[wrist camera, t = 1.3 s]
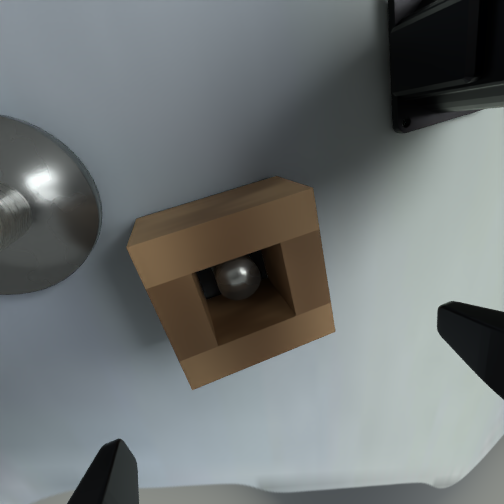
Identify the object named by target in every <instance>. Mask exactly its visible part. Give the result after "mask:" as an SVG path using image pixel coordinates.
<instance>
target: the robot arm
mask: <svg viewBox="0 0 504 504" xmlns="http://www.w3.org/2000/svg"><path fill="white" fill-rule="evenodd" d="M388 14H389V40H390V67H391V94H392V120H393V129H394V130H395V132H397V133H407V132H411V131H414V130H417V129H420V128H424V127H427V126H430V125H434V124H437V123H440V122H444V121H447V120H450V119H453V118H457V117H460V116H463V115H467V114H470V113H473V112H476V111H480V110H483V109H488V108H498V107H504V0H388ZM404 119H405V125H404V126H403V125H402V122H403V120H404ZM437 330H438V332H439V334H440V336H441V337H442V338H443V339H444V340H445V341H446V342H447V343H448V344H449V345H450V346H451V348H452V349H453V350H454V351H455V352H456V353H457V354H458V355H459V356H460V357H461V358H462V359H463V360H464V361H465V362H466V364H467V365H468V366H469V367H470V368H471V369H472V370H473V371H474V372H475V373H476V374H477V375H478V376H479V377H480V378H481V379H482V380H483V381H484V382H485V383H486V384H487V385H488V386H489V387H490V388H491V389H492V390H493V391H494V392H496V393H497V394H498V395H499V396H500V397H501V398H502V399H503V400H504V312H502V311H497V310H493V309H488V308H483V307H479V306H474V305H470V304H465V303H461V302H456V301H450V302H448V303H445V304H443V305H440V306H439V308H438V313H437ZM138 493H139V492H138V469H137V462H136V459H135V457H134V455H133V454H132V453H131V451H130V450H129V448H128V447H127V445H126V444H125V442H124V441H123V440H122V439H116V440H114V441H112V442H109V443H107V444H105V445H103V446H102V447H101V449H100V450H99V452H98V453H97V455H96V457H95V458H94V460H93V462H92V463H91V465H90V467H89V468H88V470H87V472H86V473H85V475H84V477H83V478H82V480H81V481H80V483H79V485H78V486H77V488H76V490H75V491H74V493H73V495H72V496H71V498H70V500H69V501H68V503H67V504H139V494H138Z"/></svg>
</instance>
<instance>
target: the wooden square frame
mask: <svg viewBox="0 0 504 504" xmlns="http://www.w3.org/2000/svg"><path fill="white" fill-rule="evenodd" d="M126 248H127V250H128V252H129V255H130V257H131V259H132V261H133V263H134V265H135V267H136V270H137V272H138V274H139V276H140V278H141V280H142V283H143V285H144V287H145V289H146V291H147V293H148V295H149V298H150V300H151V302H152V304H153V306H154V308H155V311H156V313H157V315H158V317H159V319H160V321H161V324H162V326H163V328H164V330H165V332H166V334H167V336H168V339H169V341H170V343H171V345H172V347H173V349H174V352H175V354H176V356H177V358H178V360H179V362H180V365H181V367H182V369H183V371H184V373H185V375H186V377H187V380H188V382H189V384H190V386H191V388H192V390H194V389H196V388H199V387H201V386H204V385H206V384H209V383H211V382H213V381H216V380H218V379H221V378H223V377H226V376H228V375H231V374H233V373H235V372H238V371H240V370H243V369H245V368H248V367H250V366H253V365H255V364H257V363H260V362H262V361H265V360H267V359H270V358H272V357H275V356H277V355H279V354H282V353H284V352H287V351H289V350H292V349H294V348H297V347H299V346H302V345H304V344H306V343H309V342H311V341H314V340H316V339H319V338H321V337H324V336H326V335H328V334H331V333H333V332H335V326H334V320H333V313H332V307H331V300H330V294H329V288H328V281H327V275H326V268H325V262H324V255H323V249H322V243H321V236H320V230H319V223H318V217H317V210H316V204H315V197H314V191H313V188H312V187H309V186H306V185H303V184H300V183H297V182H294V181H290V180H287V179H284V178H281V177H278V176H274V177H271V178H268V179H265V180H261V181H258V182H255V183H252V184H248V185H245V186H242V187H238V188H235V189H232V190H229V191H225V192H222V193H219V194H216V195H212V196H209V197H206V198H202V199H199V200H196V201H193V202H189V203H186V204H183V205H180V206H176V207H173V208H170V209H167V210H163V211H160V212H157V213H153V214H150V215H147V216H144V217H140V218H137V219H136V221H135V224H134V227H133V230H132V233H131V236H130V238H129V241H128V244H127V247H126ZM258 250H261V253H262V257H263V261H264V265H265V269H266V273H267V278H265V279H262V280H261V281H260V285H259V287H258V289H257V290H256V291H255V293H254V294H252V295H251V296H250V297H248V298H246V299H243V300H231V299H228V298H226V297H225V296H224V295H222V294H220V295H218V296H215V297H212V298H209V299H207V300H206V297H205V295H204V292H203V289H202V287H201V284H200V281H199V278H198V276H197V273H196V272H197V271H200V270H203V269H206V268H209V267H212V266H215V265H217V264H220V263H223V262H226V261H229V260H232V259H235V258H238V257H241V256H244V255H246V254H249V253H252V252H255V251H258Z"/></svg>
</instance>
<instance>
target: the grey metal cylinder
mask: <svg viewBox="0 0 504 504" xmlns="http://www.w3.org/2000/svg"><path fill="white" fill-rule="evenodd" d="M211 269H212V271H213V274H214V277H215V280H216V282H217V285H218V288H219V290H220V292H221V293H222V295H224V296H225V297H226V298H228V299H231V300H243V299H246V298H248V297H250V296H251V295H252V294H254V293H255V291H256V290H257V289H258V287H259V285H260V281H261V274H260V271H259V269H258V268H257V266H256V265H255V263H254V262H253V261H252V259H251V258H250V256H249V255H248V254H246V255H244V256H241V257H238V258H235V259H232V260H229V261H226V262H223V263H220V264H217V265H215V266H212V267H211Z"/></svg>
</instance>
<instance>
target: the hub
mask: <svg viewBox="0 0 504 504" xmlns="http://www.w3.org/2000/svg"><path fill="white" fill-rule="evenodd" d="M101 225H102V206H101V200H100V196H99V192H98V190H97V187H96V185H95V182H94V180H93V179H92V177H91V175H90V173H89V171H88V170H87V169H86V167H85V166H84V164H83V163H82V162H81V161H80V159H79V158H78V157H77V156H76V155H75V154H74V153H73V152H72V151H71V150H70V149H69V148H68V147H67V146H66V145H64V144H63V143H62V142H61V141H59V140H58V139H56V138H55V137H54V136H52V135H51V134H49V133H47V132H46V131H44V130H42V129H40V128H39V127H36V126H34V125H32V124H30V123H27V122H25V121H22V120H19V119H16V118H13V117H9V116H4V115H0V294H1V295H12V294H23V293H30V292H35V291H38V290H42V289H45V288H48V287H50V286H53V285H55V284H57V283H59V282H61V281H62V280H64V279H66V278H67V277H68V276H70V275H71V274H73V273H74V272H75V271H76V270H77V269H78V268H79V267H80V266H81V265H82V263H83V262H84V261H85V260H86V258H87V257H88V255H89V254H90V252H91V251H92V249H93V247H94V245H95V244H96V242H97V239H98V236H99V234H100V229H101Z"/></svg>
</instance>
